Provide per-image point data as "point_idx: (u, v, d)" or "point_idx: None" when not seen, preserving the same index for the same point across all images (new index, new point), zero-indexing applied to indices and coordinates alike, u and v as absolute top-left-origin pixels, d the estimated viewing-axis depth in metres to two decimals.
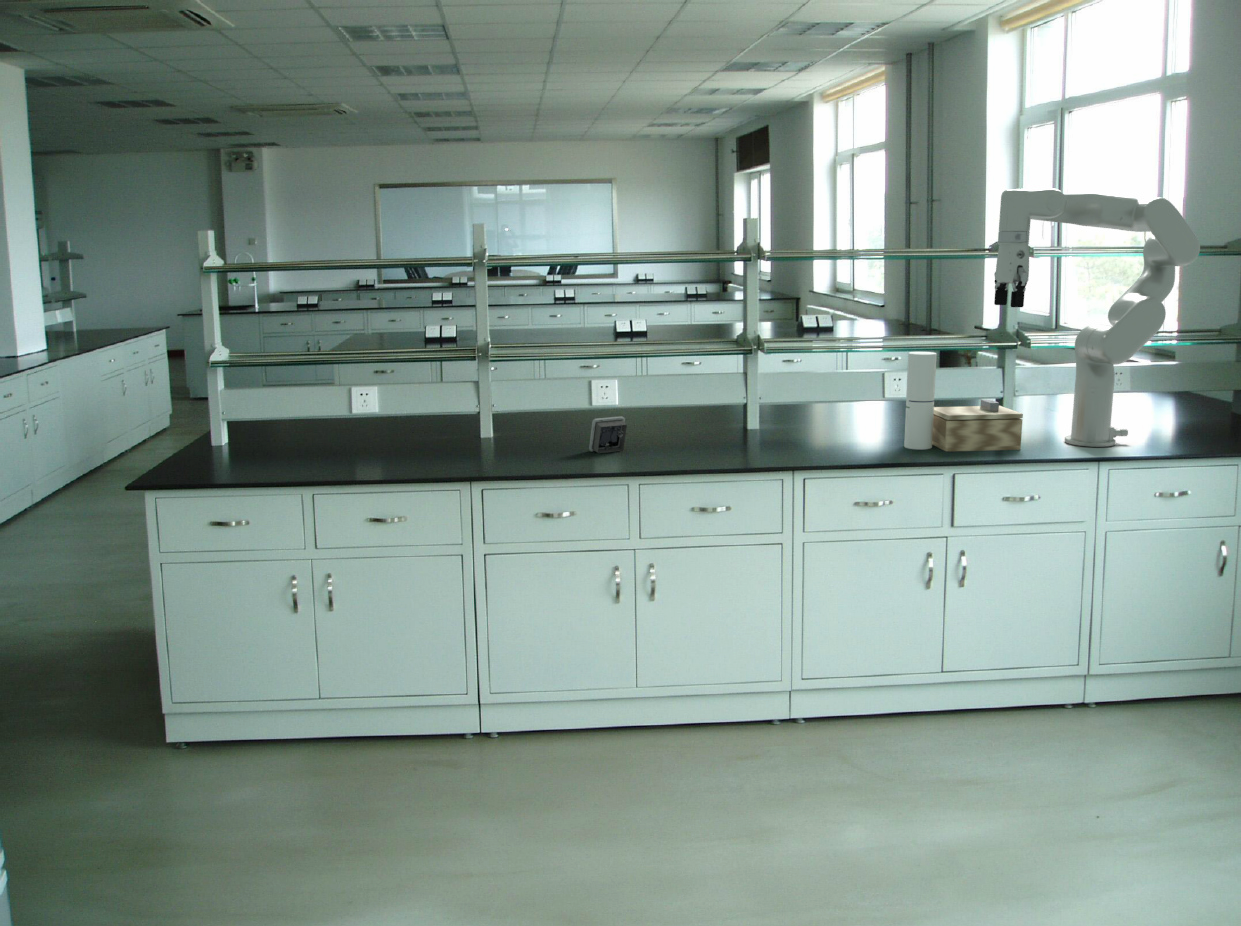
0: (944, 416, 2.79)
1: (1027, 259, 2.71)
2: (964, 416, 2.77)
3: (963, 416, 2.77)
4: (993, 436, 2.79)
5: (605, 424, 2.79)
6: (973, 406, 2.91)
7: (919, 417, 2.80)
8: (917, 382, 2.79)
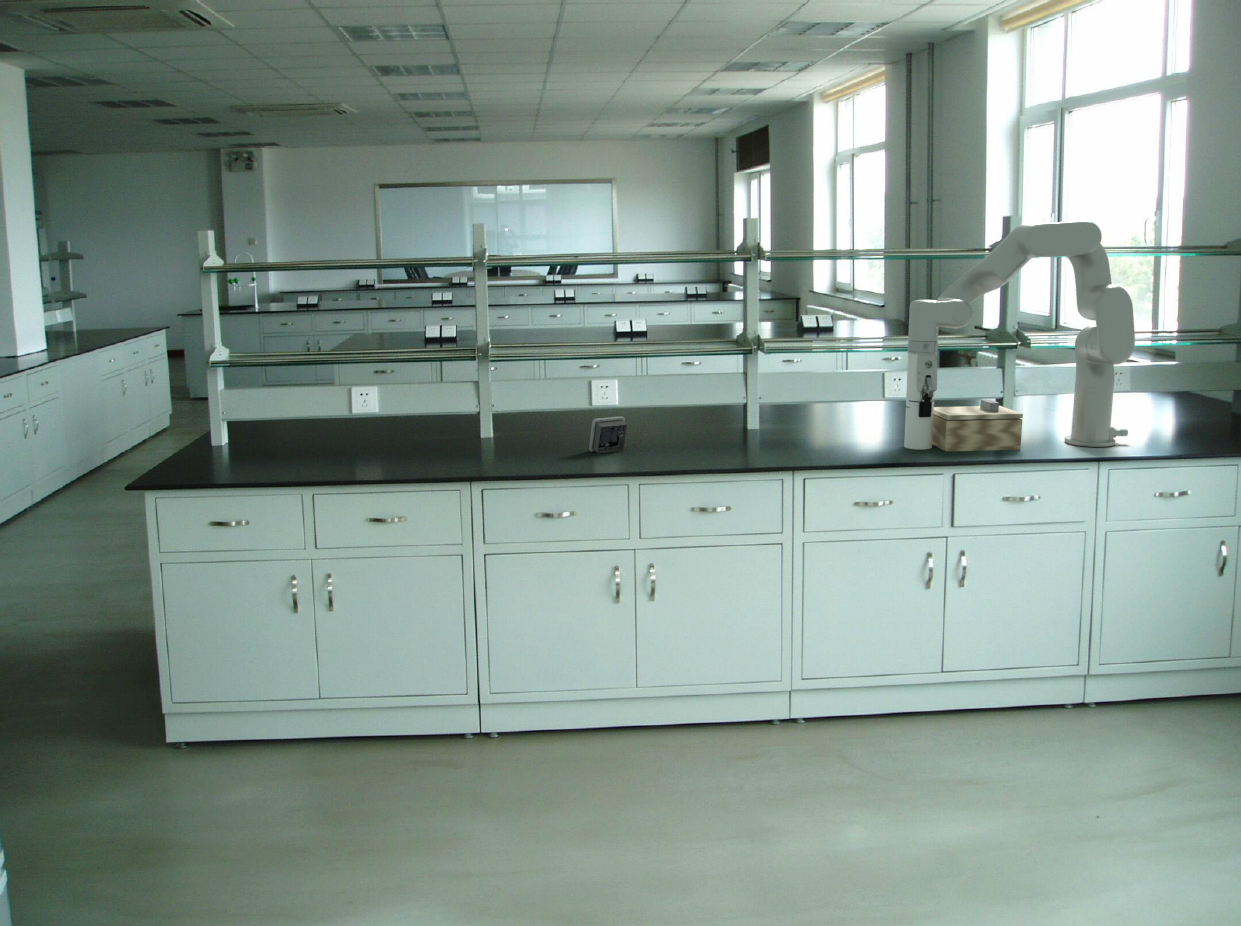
0: (944, 416, 2.79)
1: (935, 369, 2.76)
2: (964, 416, 2.77)
3: (963, 416, 2.77)
4: (993, 436, 2.79)
5: (605, 424, 2.79)
6: (973, 406, 2.91)
7: (919, 417, 2.80)
8: None
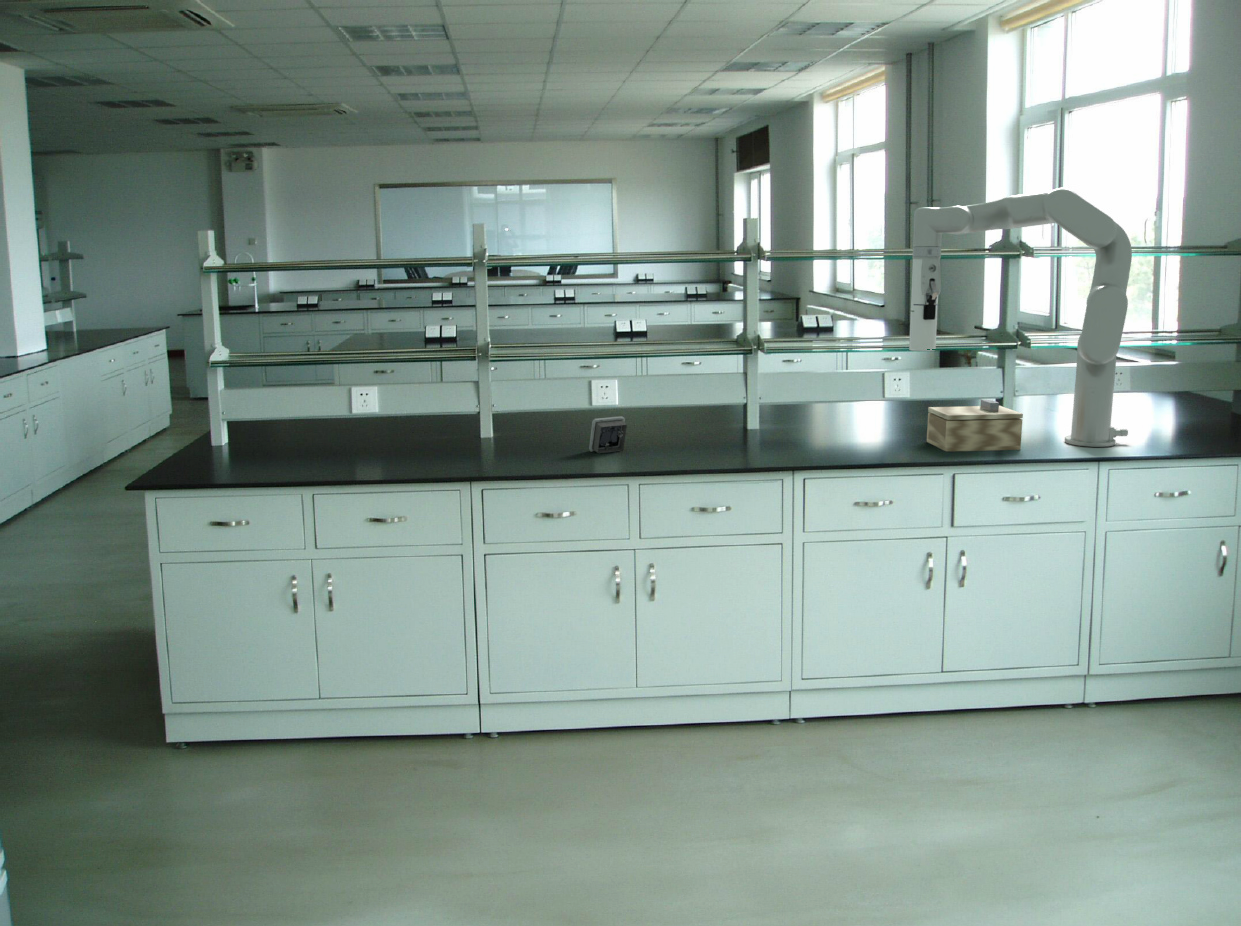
0: (944, 416, 2.79)
1: (939, 272, 2.91)
2: (964, 416, 2.77)
3: (963, 416, 2.77)
4: (993, 436, 2.79)
5: (605, 424, 2.79)
6: (973, 406, 2.91)
7: (923, 320, 2.94)
8: None
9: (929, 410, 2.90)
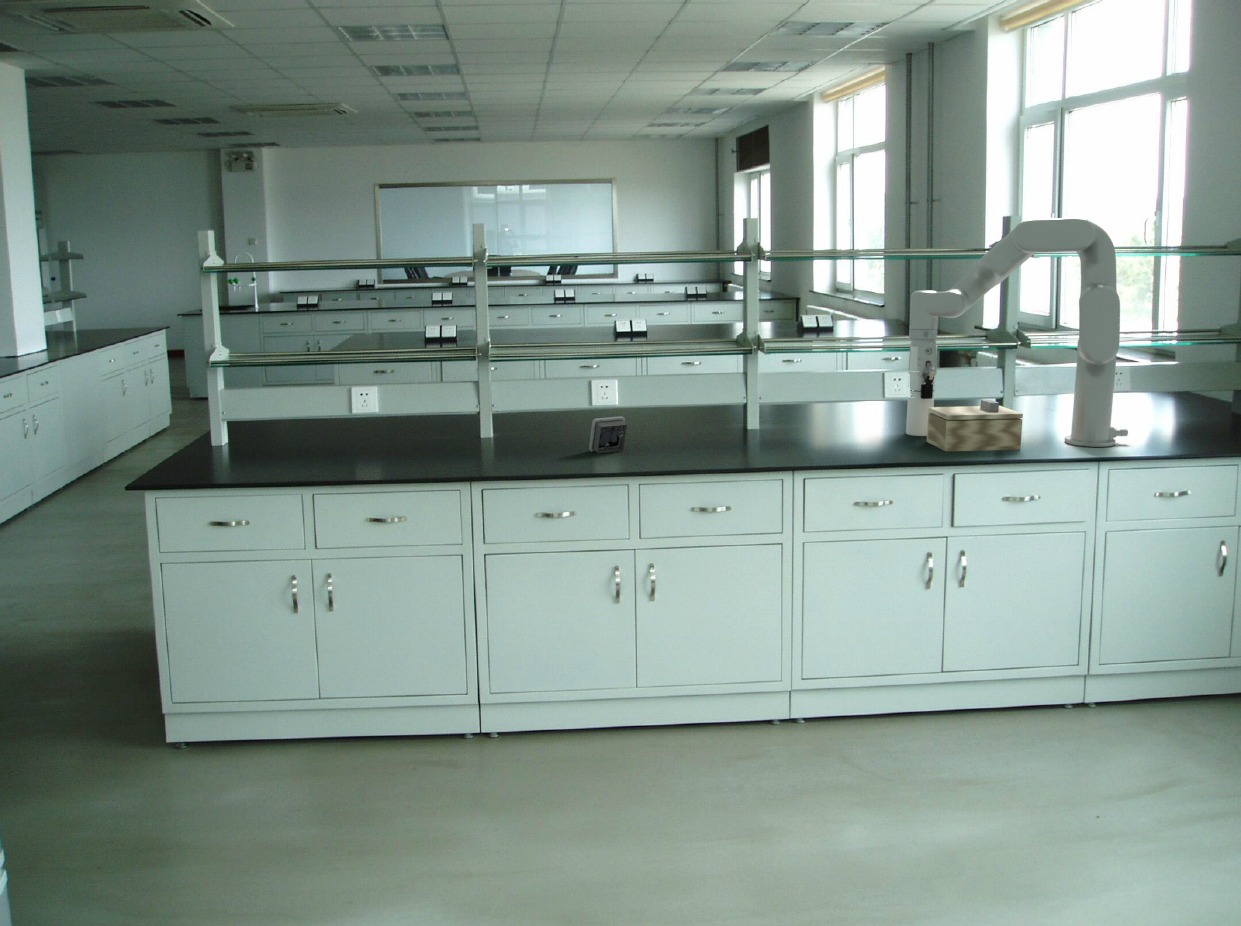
0: (944, 416, 2.79)
1: (935, 355, 2.95)
2: (964, 416, 2.77)
3: (963, 416, 2.77)
4: (993, 436, 2.79)
5: (605, 424, 2.79)
6: (973, 406, 2.91)
7: (920, 406, 2.99)
8: None
9: (929, 410, 2.90)
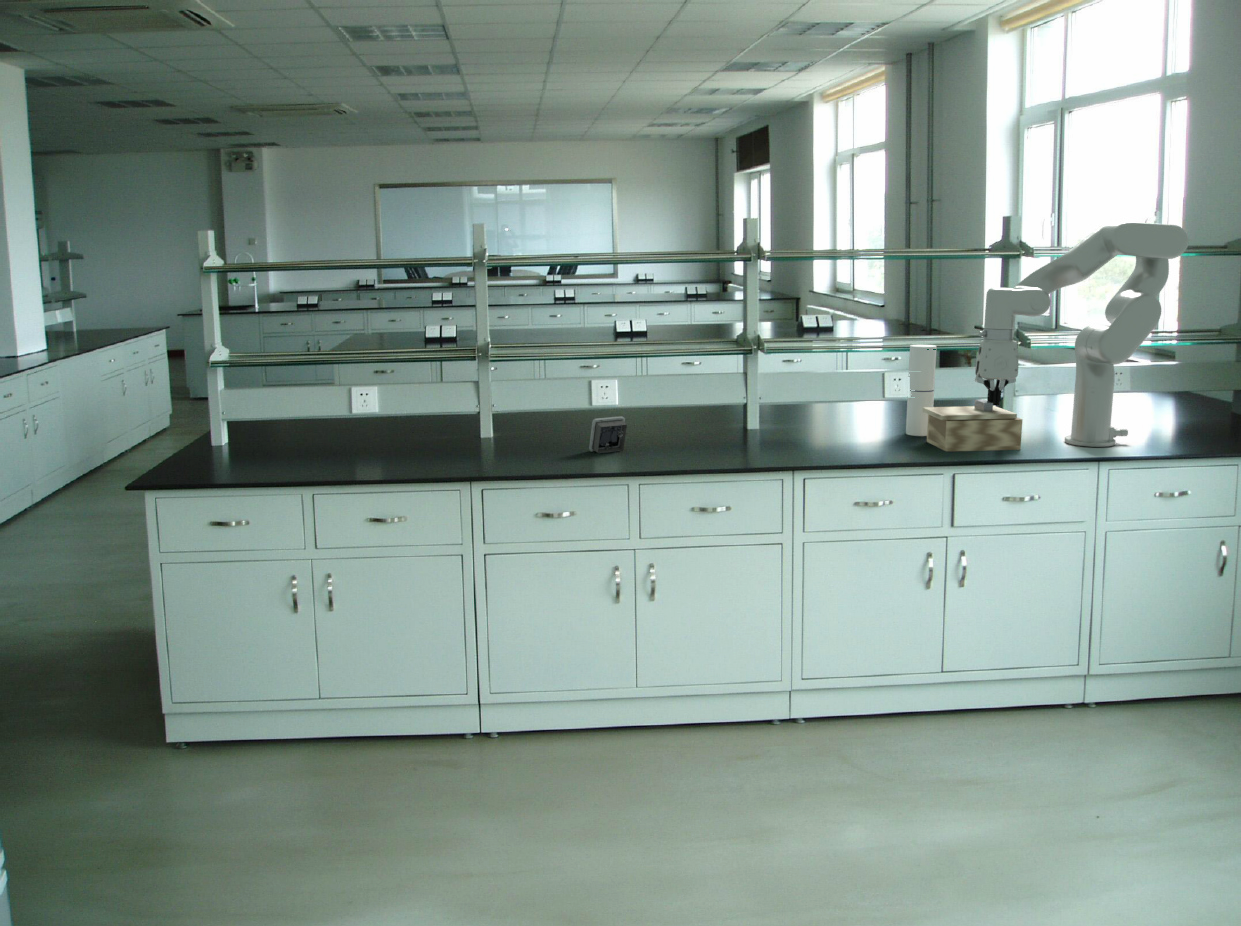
0: (938, 416, 2.79)
1: (982, 355, 2.80)
2: (958, 416, 2.77)
3: (957, 416, 2.77)
4: (993, 436, 2.79)
5: (605, 424, 2.79)
6: (967, 406, 2.91)
7: (920, 406, 2.99)
8: (918, 373, 2.98)
9: (923, 410, 2.90)
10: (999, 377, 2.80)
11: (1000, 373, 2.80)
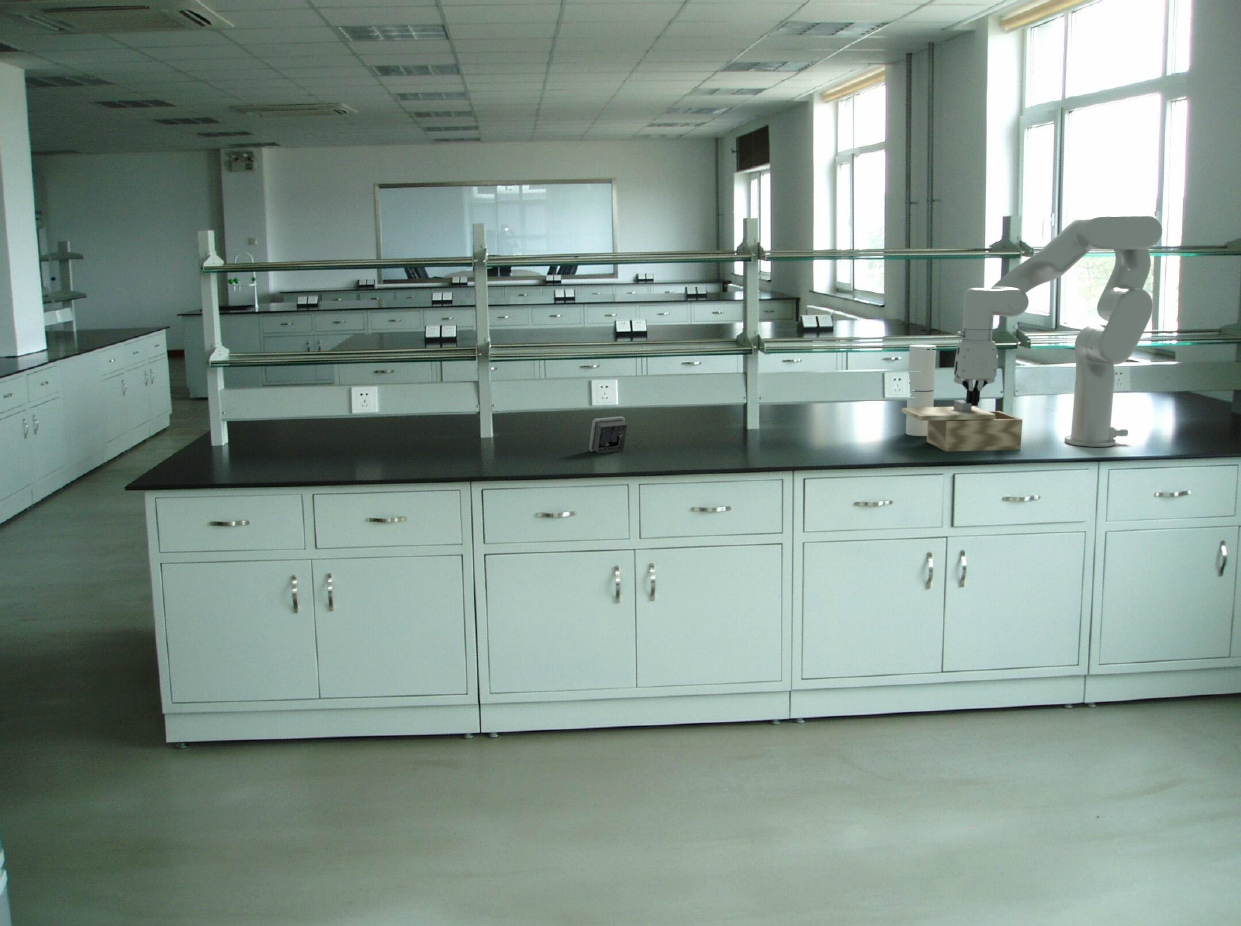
0: (916, 417, 2.79)
1: (960, 356, 2.79)
2: (936, 417, 2.77)
3: (935, 417, 2.77)
4: (993, 436, 2.79)
5: (605, 424, 2.79)
6: (947, 407, 2.90)
7: (920, 406, 2.99)
8: (918, 372, 2.98)
9: (902, 411, 2.89)
10: (977, 377, 2.80)
11: (978, 373, 2.80)
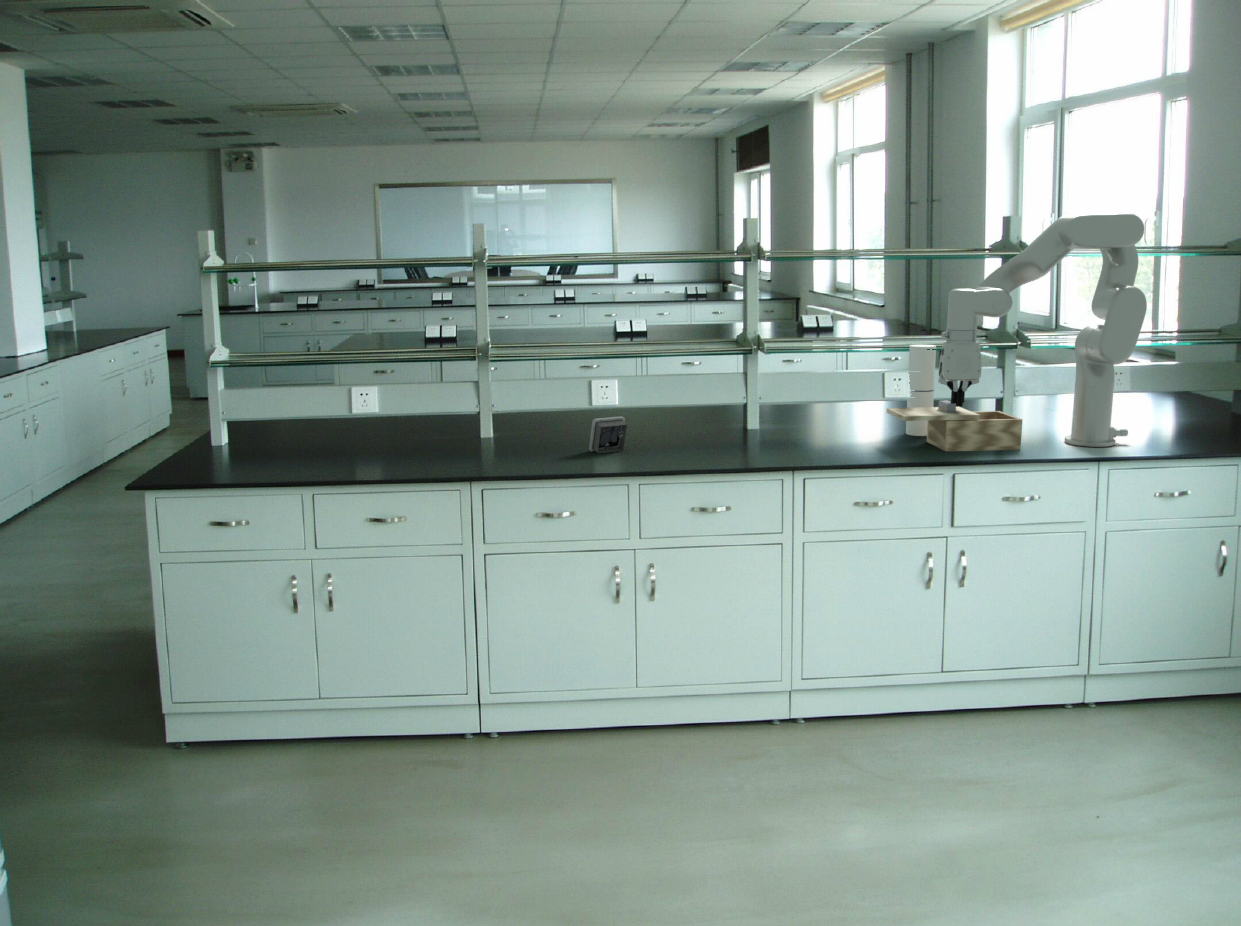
0: (901, 417, 2.78)
1: (945, 357, 2.79)
2: (920, 417, 2.76)
3: (919, 417, 2.76)
4: (993, 436, 2.79)
5: (605, 424, 2.79)
6: (931, 407, 2.90)
7: (920, 406, 2.99)
8: (918, 372, 2.98)
9: (887, 411, 2.89)
10: (962, 378, 2.80)
11: (963, 374, 2.79)
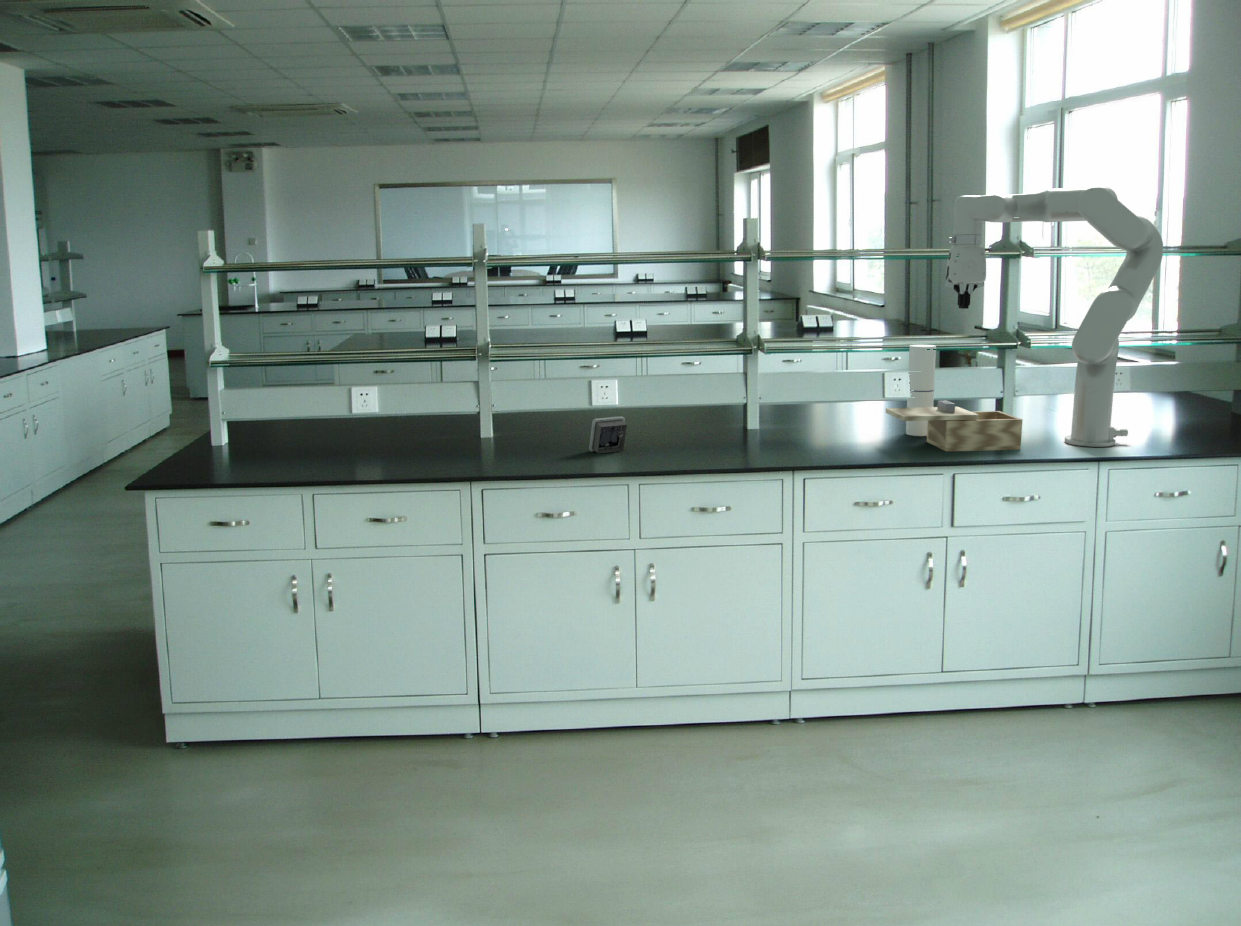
0: (900, 417, 2.78)
1: (951, 260, 2.95)
2: (919, 417, 2.76)
3: (918, 417, 2.76)
4: (993, 436, 2.79)
5: (605, 424, 2.79)
6: (931, 407, 2.90)
7: (920, 406, 2.99)
8: (918, 372, 2.98)
9: (886, 411, 2.89)
10: (968, 281, 2.96)
11: (969, 277, 2.96)
